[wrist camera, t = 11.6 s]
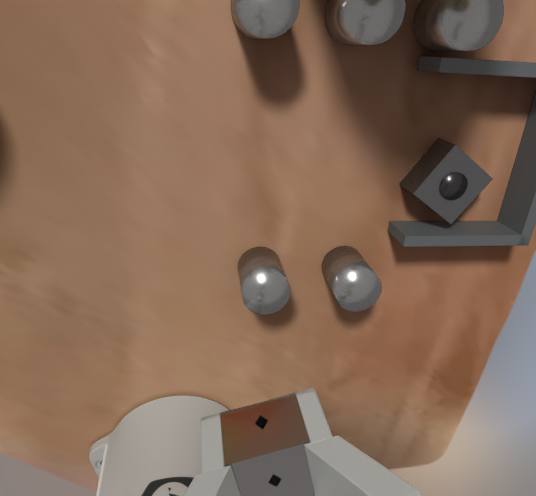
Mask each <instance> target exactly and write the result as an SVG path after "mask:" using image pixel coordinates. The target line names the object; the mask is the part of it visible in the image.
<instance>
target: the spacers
mask: <svg viewBox="0 0 536 496" xmlns="http://www.w3.org/2000/svg"><path fill="white" fill-rule="evenodd" d="M299 5H300V0H231V15H232V18H233V21H234V23H235V25H236V27H237V28H238V29H239V30H240V31H241V32H242V33H243V34H244V35H246V36H247V37H250V38H253V39H267V38H275V37H278V36H280V35H282V34H284V33H285V32H286V31H287V30H289V29H290V27H291V26H292V25H293V23H294V22H295V20H296V18H297V15H298V11H299ZM404 14H405V0H329V2H328V4H327V7H326V13H325V21H326V26H327V29H328V31H329V33H330V35H331V36H332V37H333V38H334V39H335V40H336V41H338V42H339V43H342V44H345V45H376V44H380V43H383V42H385V41H387V40H388V39H390V38H391V37H392V36H393V35H394V34H395V33H396V32H397V30H398V29H399V27H400V26H401V24H402V21H403V18H404ZM503 16H504V5H503V0H424V1H423V2H422V3H421V4H420V6H419V8H418V10H417V12H416V14H415V18H414V33H415V36H416V39H417V41H418V42H419V43H420V44H421V45H422V46H423V47H424V48H426V49H429V50H453V51H473V50H477V49H480V48H482V47H484V46H485V45H487V44H488V43H489V42H490V41H491V40H492V39H493V38H494V37H495V35H496V34H497V32H498V30H499V29H500V26H501V24H502V20H503ZM238 273H239V279H240V286H241V292H242V298H243V302H244V304H245V305H246V307H247V308H248V309H249V310H251V311H252V312H254V313H257V314H262V315H266V314H272V313H275V312H277V311H279V310H280V309H282V308H283V307H284V306H285V305H286V303H287V302H288V300H289V297H290V287H289V284H288V281H287V279H286V276H285V273H284V270H283V268H282V265H281V262H280V259H279V257H278V255H277V254H276V253H275V252H274V251H273V250H271V249H269V248H266V247H255V248H252V249H250V250H248V251H246V252H245V253H244V254H243V255H242V256H241V258H240V260H239V262H238ZM322 273H323V275H324V277H325V279H326V280H327V282H328V284H329V286H330V288H331V290H332V292H333V294H334V295H335V297H336V299H337V301H338V303H339V304H340V306H341V307H343V308H344V309H346V310H348V311H362V310H365V309H367V308H369V307H371V306H372V305H373V304H374V303H375V302H376V301H377V300H378V298H379V297H380V294H381V290H382V285H381V282H380V280H379V278H378V277H377V275H376V274H375V273H374V272H373V270H372V269H371V268H370V266H369V265H368V264H367V262H366V261H365V260H364V258H363V257H362V256H361V254H360V253H359V252H358V251H357V250H356V249H354V248H352V247H349V246H340V247H337V248H334V249H333V250H331V251H330V252H329V253H328V254H327V255H326V256H325V258H324V259H323V262H322Z"/></svg>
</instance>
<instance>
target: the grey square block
mask: <svg viewBox="0 0 536 496" xmlns="http://www.w3.org/2000/svg"><path fill="white" fill-rule="evenodd" d="M491 180H492V178H491V177H490V176H489V175H488V174H487V173H486V172H485V171H484V170H483V169H481V168H480V167H479V166H478V165H477V164H476V163H475V162H474V161H473V160H472V159H471V158H469V157H468V156H467V155H466V154H465V153H464V152H463V151H462V150H461V149H460V148H459V147H457V146H456V145H455V144H452V143H450V142H447V141H445V140H442V139H440V138H438V139H437V140H436V141H435V142H434V144H433V145H432V146H431V147H430V148H429V150H428V151H427V152H426V153H425V154H424V155H423V157H422V158H421V159H420V160H419V161H418V163H417V164H416V165H415V166H414V167H413V168H412V170H411V171H410V172H409V173H408V174H407V176H406V177H405V178H404V179H403V180H402V181H401V183H400V185H401V186H402V187H404V188H405V189H406V190H407V191H409V192H410V193H411V194H412V195H414V196H415V197H416V198H417V199H419V200H420V201H421V202H422V203H424V204H425V205H426V206H427V207H429V208H430V209H431V210H432V211H434V212H435V213H436V214H437V215H439V216H440V217H442V218H443V219H444V220H446V221H447V222H448V223H450V224H452V223H453V222H454V221H455V220H456V219H457V217H458V216H459V215H460V214H461V213H462V212H463V211H464V210H465V209H466V208H467V207H468V205H469V204H470V203H471V202H472V201H473V200H474V199H475V198H476V197H477V196H478V195H479V193H480V192H481V191H482V190H483V189H484V188H485V187H486V186H487V185H488V184H489V183H490V181H491Z"/></svg>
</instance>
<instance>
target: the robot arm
mask: <svg viewBox="0 0 536 496" xmlns="http://www.w3.org/2000/svg"><path fill="white" fill-rule="evenodd" d="M89 459H90V461H91V463H92V465H93V467H94V469H95V471H96V473H97V476H98V478H99V483H98V488H97V494H96V496H421V494H420V492H419V491H418V489H416V488H415V487H413V486H412V485H410V484H409V483H407V482H406V481H405V480H403V479H402V478H400V477H399V476H397V475H396V474H394V473H393V472H391V471H390V470H389V469H387V468H386V467H384V466H383V465H381V464H380V463H378V462H377V461H375V460H374V459H373V458H371V457H370V456H368V455H367V454H365V453H364V452H362V451H361V450H359V449H358V448H356V447H355V446H354V445H352V444H351V443H349V442H348V441H346V440H345V439H343V438H342V437H340V436H339V435H338V436H334V437H333V436H332V433H331V430H330V428H329V425H328V422H327V420H326V417H325V414H324V412H323V409H322V406H321V404H320V401H319V398H318V396H317V393H316V390H315V389H314V388H310V389H306V390H303V391H299V392H296V393H293V394H289V395H285V396H282V397H278V398H275V399H271V400H267V401H264V402H260V403H258V404H253V405H249V406H245V407H241V408H237V409H233V410H228V409H227V408H226V407H224V406H222V405H221V404H219V403H217V402H214V401H212V400H209V399H205V398H201V397H195V396H170V397H164V398H160V399H156V400H153V401H150V402H147V403H145V404H143V405H141V406H139V407H137V408H136V409H134V410H133V411H131V412H130V413H129V414H127V415H126V416H125V417H124V418H123V419H122V420H121V422H120V423H119V424H118V425H117V427H116V428H115V429H114V430H113V432H112V433H110V434H109V435H107V436H105V437H103V438H102V439H100V440H98V441H97V442H95V443H94V444H93V445H92V446H91V448H90V454H89Z"/></svg>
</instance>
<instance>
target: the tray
mask: <svg viewBox="0 0 536 496" xmlns="http://www.w3.org/2000/svg"><path fill="white" fill-rule="evenodd" d="M417 70H422V71H431V72H441V73H460V74H478V75H497V76H516V77H534V78H536V63H528V62H511V61H494V60H477V59H460V58H444V57H424V56H420V58H419V63H418V69H417ZM535 223H536V92H535V95H534V99H533V102H532V105H531V109H530V112H529V116H528V119H527V122H526V126H525V129H524V132H523V136H522V139H521V143H520V146H519V149H518V153H517V156H516V159H515V163H514V166H513V170H512V173H511V176H510V180H509V183H508V186H507V190H506V193H505V197H504V200H503V203H502V207H501V210H500V214H499V217H498V220H497V221H454V222H453V223H452V224H450V223H448V222H447V221H389V227H388V232H389V233H390V234H391V235H392V236H393V237H394V238H395V239H396V240H397V241H398V242H399V243H400V244H401V245H402V246H403V247H421V246H512V245H528V244H529V241H530V238H531V235H532V232H533V229H534V226H535Z"/></svg>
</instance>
